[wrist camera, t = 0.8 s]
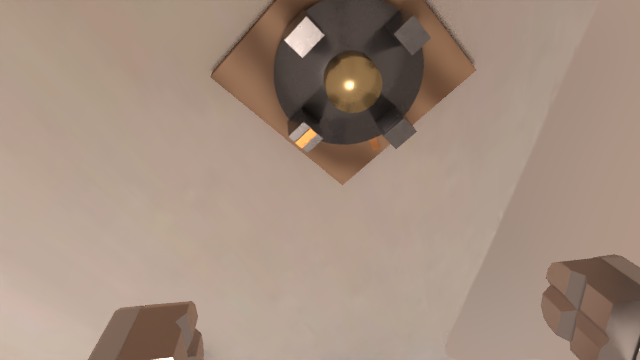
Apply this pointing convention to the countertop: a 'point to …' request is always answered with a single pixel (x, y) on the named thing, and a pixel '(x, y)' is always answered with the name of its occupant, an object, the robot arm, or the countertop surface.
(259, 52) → the base plate
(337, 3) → the lathe chuck
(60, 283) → the countertop surface
